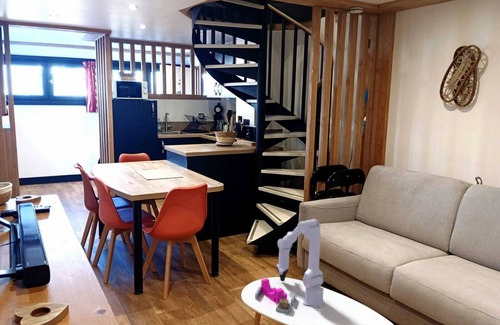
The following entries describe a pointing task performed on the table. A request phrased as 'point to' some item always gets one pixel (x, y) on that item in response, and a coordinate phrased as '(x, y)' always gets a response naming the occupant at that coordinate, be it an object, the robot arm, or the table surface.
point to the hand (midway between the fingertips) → (282, 280)
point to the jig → (278, 303)
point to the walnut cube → (283, 303)
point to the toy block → (272, 291)
